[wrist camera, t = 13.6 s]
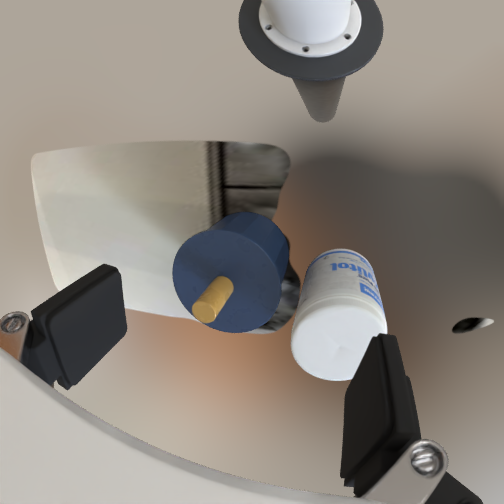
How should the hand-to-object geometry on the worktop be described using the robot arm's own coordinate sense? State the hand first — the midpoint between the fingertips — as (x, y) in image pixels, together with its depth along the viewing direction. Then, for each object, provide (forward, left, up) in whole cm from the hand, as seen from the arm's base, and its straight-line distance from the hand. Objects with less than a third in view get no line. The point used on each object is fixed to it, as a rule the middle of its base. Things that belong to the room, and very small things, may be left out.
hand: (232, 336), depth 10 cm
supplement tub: (+10, +7, -28) cm, 31 cm away
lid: (+9, -6, -19) cm, 22 cm away
